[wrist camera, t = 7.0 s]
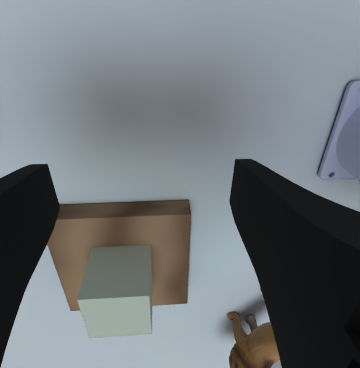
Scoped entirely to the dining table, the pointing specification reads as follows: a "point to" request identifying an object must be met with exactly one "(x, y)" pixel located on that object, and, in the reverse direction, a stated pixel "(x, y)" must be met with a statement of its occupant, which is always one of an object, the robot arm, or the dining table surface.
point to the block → (117, 292)
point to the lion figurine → (253, 344)
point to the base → (125, 243)
